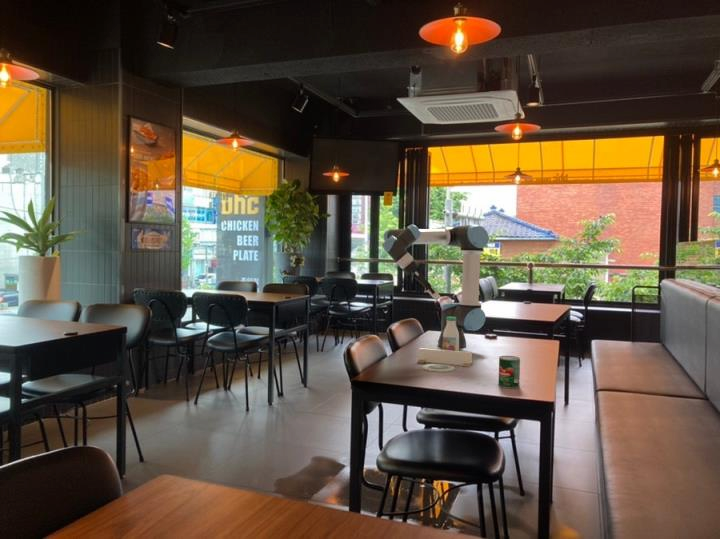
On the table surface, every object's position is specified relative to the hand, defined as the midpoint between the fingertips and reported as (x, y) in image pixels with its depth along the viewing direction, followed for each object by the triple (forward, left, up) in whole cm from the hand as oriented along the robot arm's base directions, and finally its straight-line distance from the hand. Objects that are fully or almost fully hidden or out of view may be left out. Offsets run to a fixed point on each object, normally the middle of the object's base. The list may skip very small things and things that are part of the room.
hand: (437, 297), depth 271 cm
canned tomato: (+56, -5, -29) cm, 64 cm away
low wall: (+11, -3, -29) cm, 31 cm away
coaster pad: (+19, -12, -29) cm, 37 cm away
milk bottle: (+3, +6, -29) cm, 30 cm away
